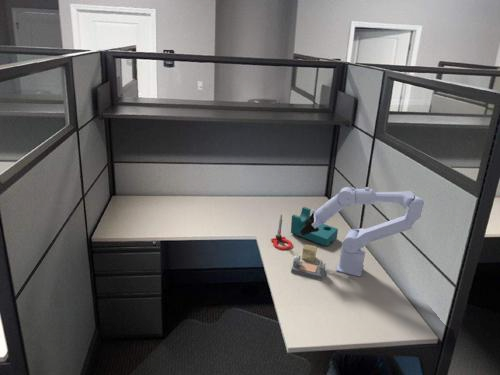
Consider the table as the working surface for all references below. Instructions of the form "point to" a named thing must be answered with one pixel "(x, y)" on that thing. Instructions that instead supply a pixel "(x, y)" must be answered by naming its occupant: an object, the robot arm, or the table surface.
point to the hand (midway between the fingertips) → (304, 229)
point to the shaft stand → (308, 268)
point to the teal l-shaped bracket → (321, 236)
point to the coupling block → (309, 253)
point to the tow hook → (281, 238)
